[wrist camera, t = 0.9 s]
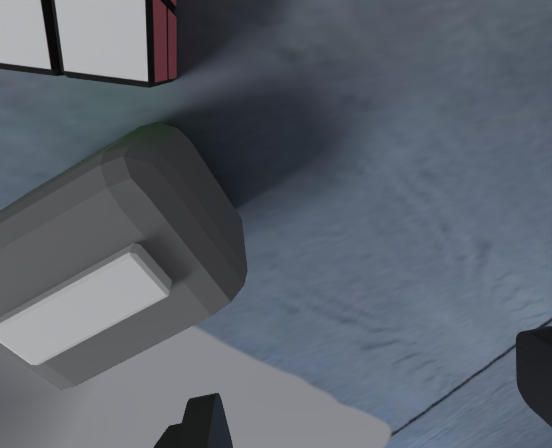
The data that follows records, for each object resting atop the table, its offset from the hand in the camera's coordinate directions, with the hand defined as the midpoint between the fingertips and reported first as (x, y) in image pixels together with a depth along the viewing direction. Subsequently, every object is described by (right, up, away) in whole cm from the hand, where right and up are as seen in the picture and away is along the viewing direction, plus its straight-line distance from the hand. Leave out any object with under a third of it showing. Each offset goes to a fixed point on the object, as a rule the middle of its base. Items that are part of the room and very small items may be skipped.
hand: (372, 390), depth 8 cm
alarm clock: (-16, +7, +23) cm, 29 cm away
